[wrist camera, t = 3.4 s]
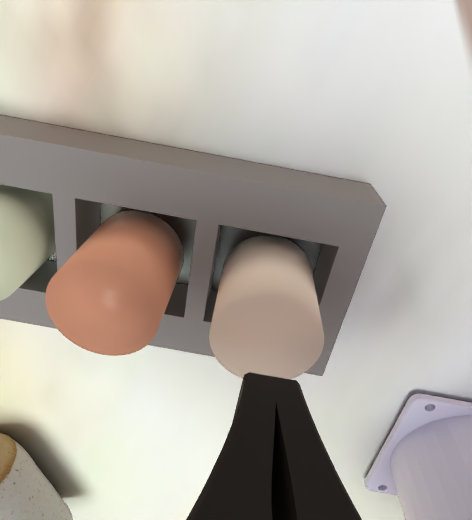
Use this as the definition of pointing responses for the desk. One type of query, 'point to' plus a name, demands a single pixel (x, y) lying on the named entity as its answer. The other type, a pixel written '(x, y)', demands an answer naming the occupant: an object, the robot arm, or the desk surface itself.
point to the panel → (187, 217)
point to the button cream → (267, 310)
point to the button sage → (24, 235)
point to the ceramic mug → (26, 487)
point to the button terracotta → (117, 284)
